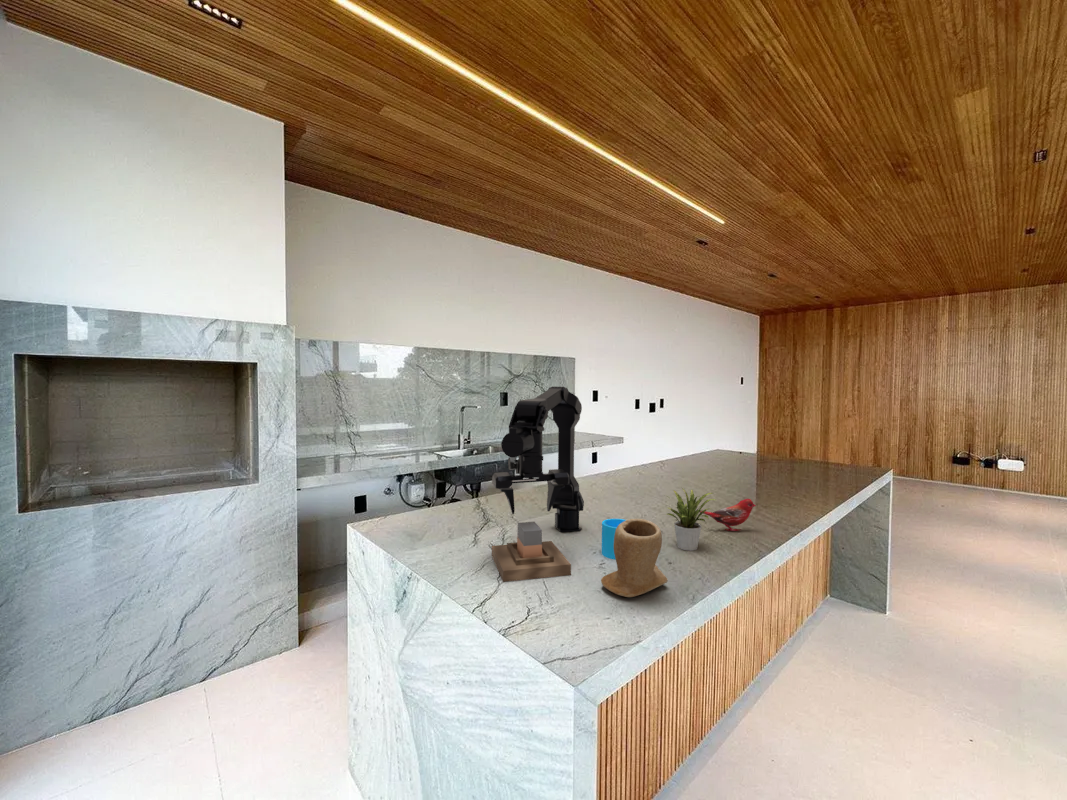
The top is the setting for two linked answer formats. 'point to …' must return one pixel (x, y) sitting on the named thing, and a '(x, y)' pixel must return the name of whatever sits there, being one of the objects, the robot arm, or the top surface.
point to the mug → (609, 536)
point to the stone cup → (635, 559)
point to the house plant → (688, 521)
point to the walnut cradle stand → (529, 563)
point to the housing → (529, 540)
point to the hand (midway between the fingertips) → (530, 512)
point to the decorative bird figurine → (733, 514)
